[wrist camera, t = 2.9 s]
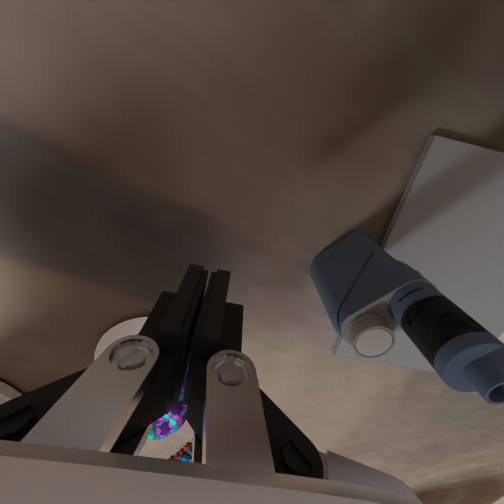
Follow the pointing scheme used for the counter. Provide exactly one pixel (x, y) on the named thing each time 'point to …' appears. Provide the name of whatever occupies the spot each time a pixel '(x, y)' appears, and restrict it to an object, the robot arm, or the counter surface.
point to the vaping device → (405, 315)
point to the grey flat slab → (450, 238)
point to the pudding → (177, 411)
